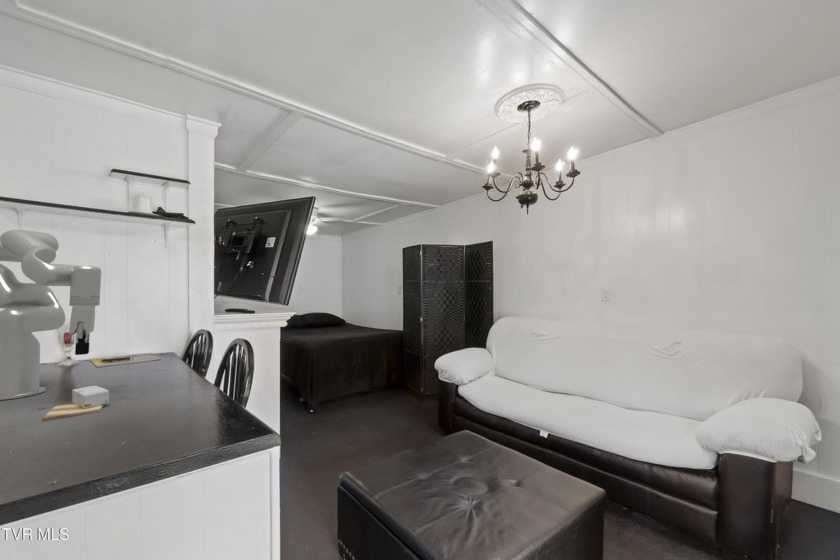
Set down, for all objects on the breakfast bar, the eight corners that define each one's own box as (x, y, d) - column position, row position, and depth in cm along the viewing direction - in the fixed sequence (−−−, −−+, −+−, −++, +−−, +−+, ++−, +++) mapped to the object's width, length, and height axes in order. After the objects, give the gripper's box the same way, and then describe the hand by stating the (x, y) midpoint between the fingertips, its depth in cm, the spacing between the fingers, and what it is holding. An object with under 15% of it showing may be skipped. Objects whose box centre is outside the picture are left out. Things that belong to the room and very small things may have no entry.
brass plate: (55, 408, 107) (55, 405, 107) (106, 400, 114) (106, 398, 114) (42, 421, 97) (42, 418, 97) (99, 411, 103) (99, 409, 104)
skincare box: (95, 384, 115) (110, 388, 109) (96, 398, 115) (110, 402, 109) (70, 389, 110) (84, 394, 104) (70, 403, 110) (84, 409, 104)
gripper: (75, 300, 122) (72, 351, 122) (63, 302, 110) (60, 359, 110) (103, 300, 127) (100, 349, 126) (95, 302, 114) (92, 357, 114)
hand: (82, 354), depth 118 cm, fingers closed
